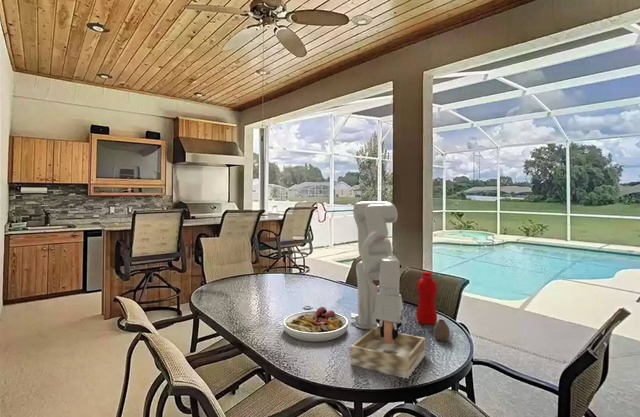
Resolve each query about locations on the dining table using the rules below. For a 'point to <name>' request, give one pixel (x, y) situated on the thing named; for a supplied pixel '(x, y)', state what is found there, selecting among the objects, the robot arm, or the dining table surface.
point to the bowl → (315, 325)
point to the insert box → (388, 353)
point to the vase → (441, 331)
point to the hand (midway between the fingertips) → (389, 336)
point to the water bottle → (426, 299)
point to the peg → (388, 332)
